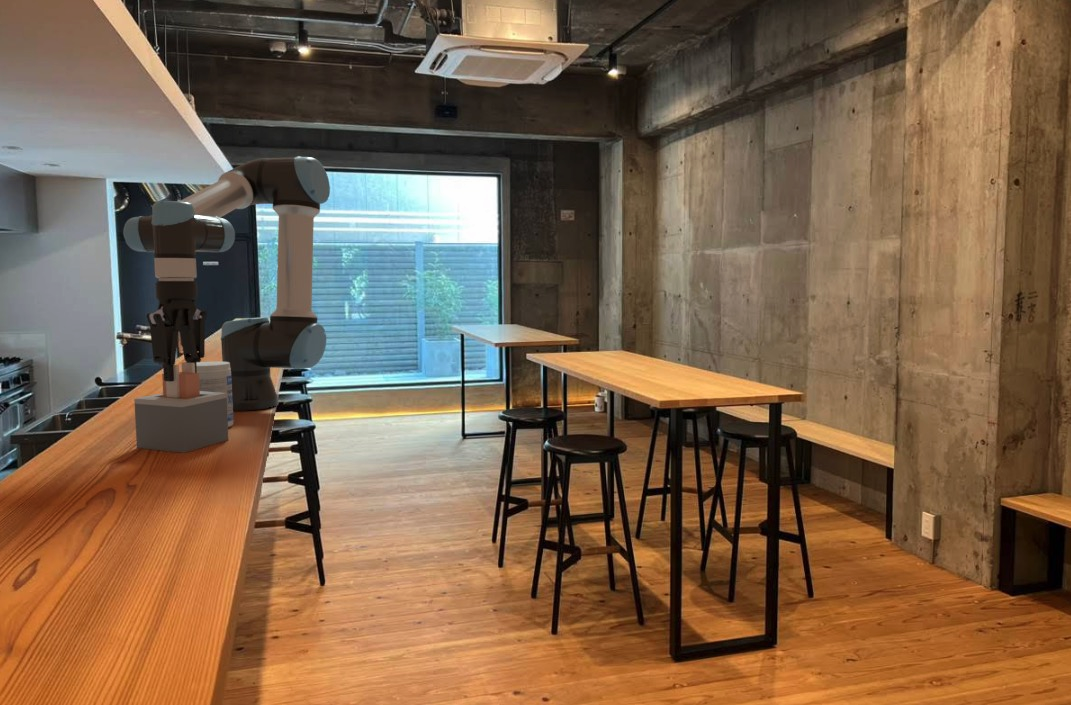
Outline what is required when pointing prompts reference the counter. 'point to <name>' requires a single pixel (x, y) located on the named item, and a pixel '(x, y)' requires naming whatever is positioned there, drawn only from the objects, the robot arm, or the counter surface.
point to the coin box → (181, 422)
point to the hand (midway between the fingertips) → (181, 395)
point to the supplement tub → (217, 382)
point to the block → (185, 385)
